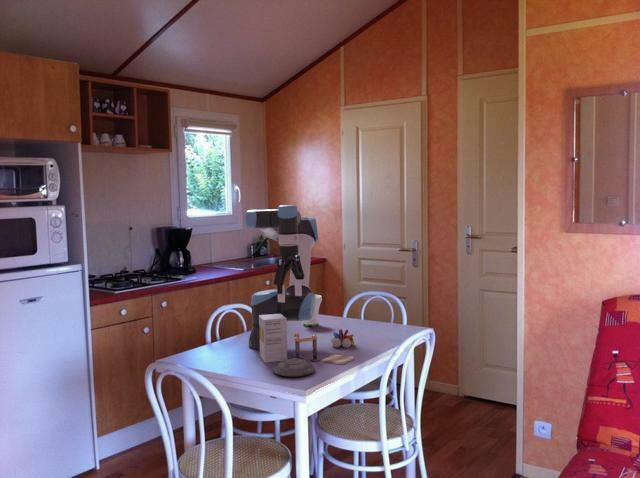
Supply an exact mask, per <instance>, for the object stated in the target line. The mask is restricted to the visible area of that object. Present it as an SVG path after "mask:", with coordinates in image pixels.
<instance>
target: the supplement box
mask: <svg viewBox="0 0 640 478" xmlns="http://www.w3.org/2000/svg"><path fill="white" fill-rule="evenodd" d="M287 322H288V321H287V320H286V318H285V317H284V316H283V315H282V314H269V315H259V337H260V349H259V357H260V358H261V360H262V361H263V363H273V362H274V363H275V362H282V361H284V360H288V337H287V333H288V331H287V329H288V326H287V325H288V324H287Z"/></svg>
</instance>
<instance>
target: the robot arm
mask: <svg viewBox="0 0 640 478" xmlns="http://www.w3.org/2000/svg"><path fill="white" fill-rule="evenodd" d="M244 221H245V222H244V223H245V227H246V228H247V229H253V230H254V229H258V230H259V231H261V232H262V233H263V235H264V236H265V237H266V238H267V239H271V240H272V241H276V242H278V244H279V246H278V254H279V256H280V257H282V258H277V262H276V263H277V266H276V270H275V275H274V279H273V285H274V286H277V287H276V289H266V290H261V291H257V292H255V293H253V294H252V295H251V300H250V301H251V302H250V306H251V327H252V328H251V331H250V335H249V339H248V347H249V348H251V349H255V350H260V337H259V315H269V314H282V315H283V316H284V317H285V318H286V320H287V322H288V321H289V322H297V321H299V322H303V321H306V320H310V319H311V318H312V317H313V314H314V309H315V295H316V294H315V293H313V291H312V288H311V287H310V275H311V258H312V257H311V255H312V248H313V247H314V246H315V244H316V243H317V242H319V233H318V224H317V220H316V218H315V217H313V216H312V217H311V216H305V217H303V216H302V215H301V213H300V211H299V210H298V207H297V205H295V204H284V205H278V206H277V209H275V208H274V209H249V210H247V211H246V212H245V216H244ZM289 271H290V273H289V274H290V275H289V283H288V284H289V285H288V286H287V287H286V288H285V285H284V283H285V281H286V278H287V274H288V272H289Z"/></svg>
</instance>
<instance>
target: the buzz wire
mask: <svg viewBox="0 0 640 478" xmlns="http://www.w3.org/2000/svg"><path fill="white" fill-rule="evenodd" d="M317 340H318V336H317V335H316V334H314V335H312V336H311V337H307V338H306V337H305V338H300V333H298V332H295V333H294V343H295V345H294V348H295V350H294V351H295V355H293V356H292V358H298V359H303V356H302V355H300V354H301V353H300V351H301V350H300V349H301V347H300V343H304V342H305V343H306V342H312V357H311V358H310V361H311V363H314V362H320V360H321V359H320V358H319V357H318V342H317ZM310 361H309V362H310Z"/></svg>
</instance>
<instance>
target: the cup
mask: <svg viewBox="0 0 640 478" xmlns="http://www.w3.org/2000/svg"><path fill="white" fill-rule="evenodd" d="M322 301H323V298H322V295H320V294H315V309H314V314H313V317H312V318H311V319H310V320H306V321H302V324H303V326H304V327H307V328H308V327H310V326H311V327H313V328H314V327H316V326H319V323H320V319H319V309H320V306H321V303H322Z"/></svg>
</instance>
